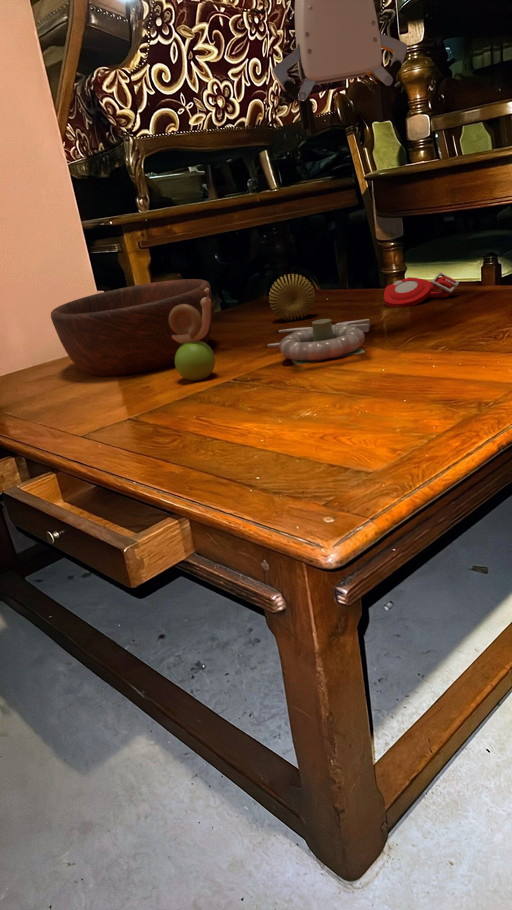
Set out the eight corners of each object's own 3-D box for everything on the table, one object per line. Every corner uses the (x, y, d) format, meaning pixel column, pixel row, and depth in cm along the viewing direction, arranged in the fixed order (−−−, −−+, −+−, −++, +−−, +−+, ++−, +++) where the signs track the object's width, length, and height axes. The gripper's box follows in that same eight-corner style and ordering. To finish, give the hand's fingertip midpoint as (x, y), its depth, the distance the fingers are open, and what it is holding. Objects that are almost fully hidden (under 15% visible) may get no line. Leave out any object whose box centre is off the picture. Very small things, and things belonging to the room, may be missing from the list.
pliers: (278, 324, 113) (371, 314, 109) (280, 334, 113) (372, 324, 109) (265, 339, 104) (366, 329, 100) (267, 350, 104) (367, 340, 100)
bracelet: (353, 335, 99) (351, 318, 98) (374, 352, 88) (372, 334, 87) (276, 349, 98) (273, 332, 97) (288, 368, 88) (285, 350, 87)
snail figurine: (220, 383, 91) (203, 291, 86) (174, 388, 92) (155, 298, 88) (229, 371, 96) (213, 284, 91) (185, 376, 97) (167, 290, 93)
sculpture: (272, 326, 119) (265, 279, 116) (272, 321, 123) (265, 276, 120) (319, 319, 118) (312, 271, 115) (317, 314, 122) (311, 268, 119)
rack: (351, 346, 98) (347, 309, 96) (366, 360, 90) (362, 321, 88) (289, 357, 98) (283, 321, 96) (298, 373, 89) (292, 334, 87)
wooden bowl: (62, 395, 98) (43, 324, 95) (70, 359, 121) (54, 300, 118) (233, 359, 102) (221, 289, 98) (209, 330, 125) (198, 272, 121)
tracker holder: (392, 304, 114) (371, 283, 122) (398, 327, 116) (377, 305, 124) (461, 274, 113) (435, 255, 121) (465, 298, 116) (439, 277, 124)
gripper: (391, -28, 88) (403, 119, 94) (257, -5, 88) (278, 142, 94) (409, -47, 81) (420, 113, 87) (264, -21, 81) (286, 138, 87)
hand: (347, 128), depth 91 cm, fingers open, 9 cm apart
